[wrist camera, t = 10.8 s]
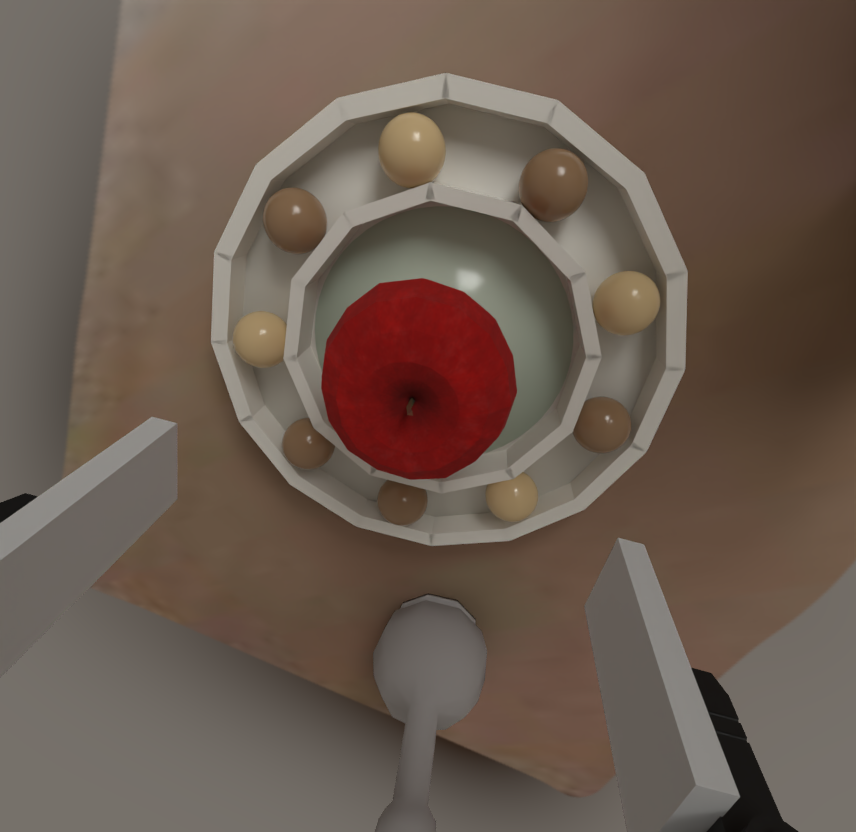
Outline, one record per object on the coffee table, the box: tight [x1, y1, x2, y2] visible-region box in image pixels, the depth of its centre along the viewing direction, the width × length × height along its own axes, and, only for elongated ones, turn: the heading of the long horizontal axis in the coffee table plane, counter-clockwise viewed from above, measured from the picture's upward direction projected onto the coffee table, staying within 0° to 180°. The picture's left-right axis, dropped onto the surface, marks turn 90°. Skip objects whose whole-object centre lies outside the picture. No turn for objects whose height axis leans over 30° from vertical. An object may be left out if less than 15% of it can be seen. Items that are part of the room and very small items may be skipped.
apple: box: [321, 278, 517, 480], centre depth 27 cm, size 10×10×11 cm
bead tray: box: [211, 73, 688, 546], centre depth 31 cm, size 27×27×4 cm
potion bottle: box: [373, 594, 487, 832], centre depth 35 cm, size 9×9×18 cm
